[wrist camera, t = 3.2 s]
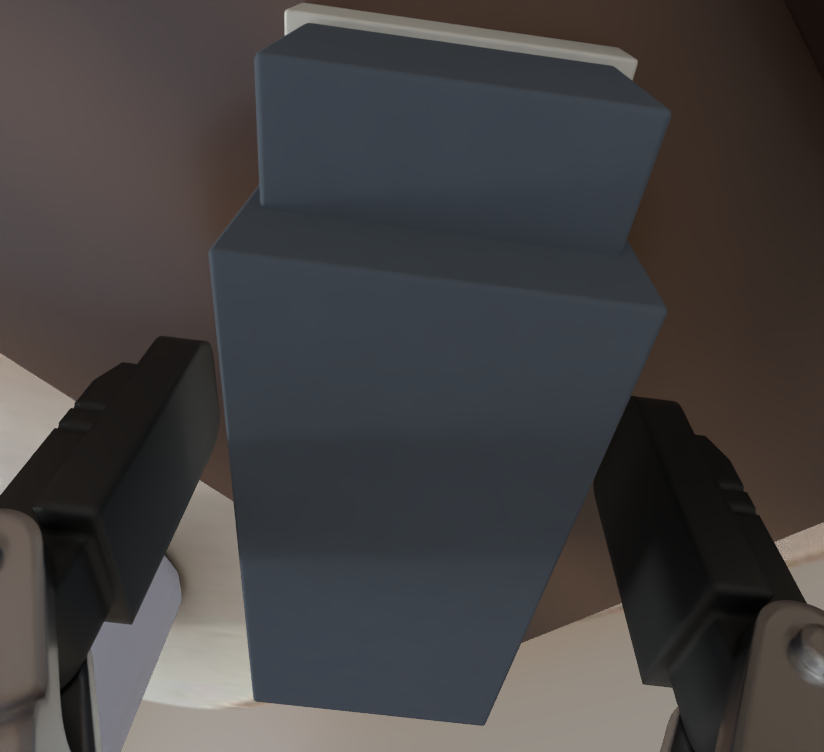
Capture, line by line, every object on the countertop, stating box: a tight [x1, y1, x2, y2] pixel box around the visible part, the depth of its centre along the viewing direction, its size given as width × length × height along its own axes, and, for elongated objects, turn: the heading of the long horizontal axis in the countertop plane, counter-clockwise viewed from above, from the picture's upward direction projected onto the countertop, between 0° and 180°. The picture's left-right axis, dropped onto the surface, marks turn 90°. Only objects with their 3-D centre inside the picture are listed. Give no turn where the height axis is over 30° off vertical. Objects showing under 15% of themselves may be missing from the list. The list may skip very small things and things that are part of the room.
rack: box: [0, 0, 824, 643], centre depth 12 cm, size 15×20×7 cm
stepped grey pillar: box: [208, 3, 671, 726], centre depth 10 cm, size 11×4×4 cm, turn 173°
